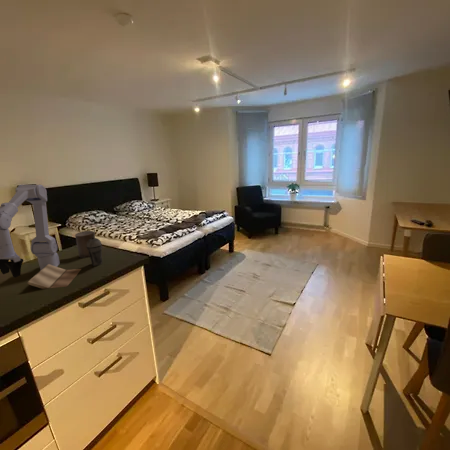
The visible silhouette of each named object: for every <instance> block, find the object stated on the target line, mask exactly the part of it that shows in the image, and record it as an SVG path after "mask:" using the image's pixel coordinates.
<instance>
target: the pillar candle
mask: <svg viewBox="0 0 450 450" xmlns="http://www.w3.org/2000/svg"><path fill="white" fill-rule="evenodd" d="M74 236H75V242H76V248H77V250H78V251H77V252H78V257H79V258H80V259H86V258H87V259H88V258H90V255H89V251H88V249H87V242H88V240H90V239H91V238H94V230H84V231H79V232H77V233H75V234H74Z"/></svg>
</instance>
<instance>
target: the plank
mask: <svg viewBox="0 0 450 450" xmlns="http://www.w3.org/2000/svg"><path fill="white" fill-rule="evenodd" d="M66 270H67V269H65V268H61V267H58V266H57V267H56V266H53V265H50V264H48V265H47V266H46V267H44V268H43V269H42V270H39V271H38V272H37V273H36V274H35V275H33V277H31V278H30V279H29V280H28V281H27V283H26V285H30V286H32V287H36V288H39V289H42V290H44V289H50V287H51V286H52V285H53V284H54V283H55V282H56V281H57V280H58V279H59V278H60V277H61V276H62V275H63V273H64V272H65V271H66Z"/></svg>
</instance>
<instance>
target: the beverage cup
mask: <svg viewBox="0 0 450 450" xmlns="http://www.w3.org/2000/svg"><path fill="white" fill-rule="evenodd" d="M93 232H94V238H91V239H90V240H88V242H87V249H88V251H89V255H90V257H89V258H90V262H91V265H92V266H94V267H95V266H97V267H98V266H101V265H102V264H103V253H102V252H103V251H102V249H103V248H102V247H103V243H102V241H101V240H100V239H99V238H97V237H96V230H95V229H93Z"/></svg>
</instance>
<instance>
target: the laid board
mask: <svg viewBox="0 0 450 450" xmlns="http://www.w3.org/2000/svg"><path fill="white" fill-rule="evenodd" d="M65 270H66V271H65V272H64V273H63V274H62V275H61V276H60V277H59V278H58V279H57V280H56V281H55V282H54V283H53V284H52V285H51V286H50V287H49V289H56V288H67V287H68V286H69V285H70V284H71V283H72V281H73V280H74V279H75V277H77V275H78V274H79V273H80V271H81V270H82V268H77V269H75V268H74V269H65Z"/></svg>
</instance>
